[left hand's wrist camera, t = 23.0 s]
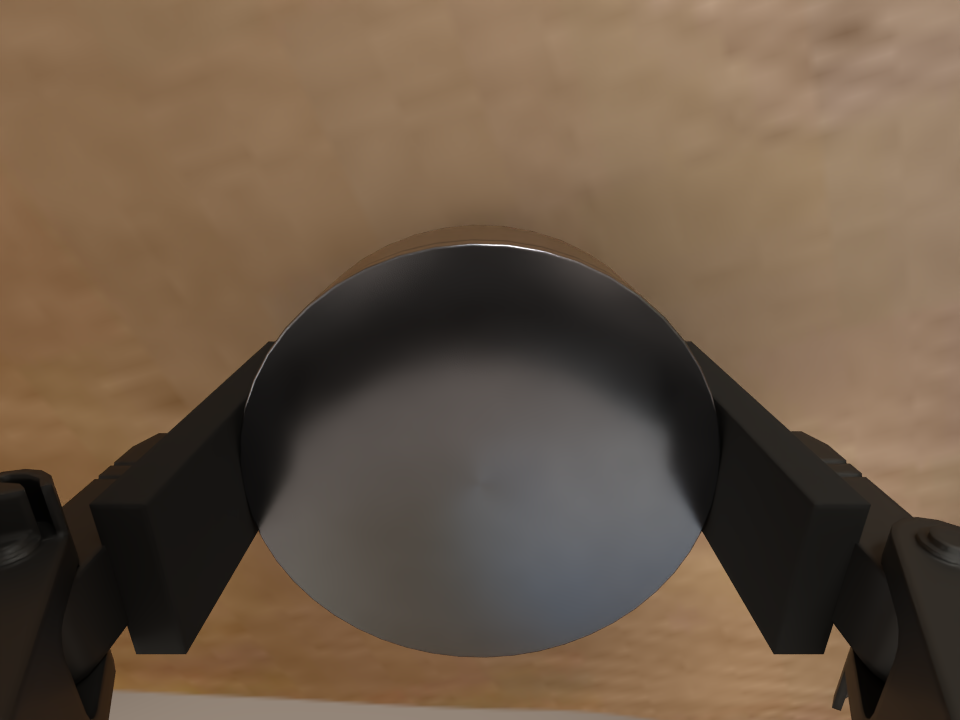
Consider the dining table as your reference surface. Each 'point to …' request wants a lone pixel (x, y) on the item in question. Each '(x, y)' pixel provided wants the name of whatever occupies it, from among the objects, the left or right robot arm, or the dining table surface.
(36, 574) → the left robot arm
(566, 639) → the lid
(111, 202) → the dining table surface
